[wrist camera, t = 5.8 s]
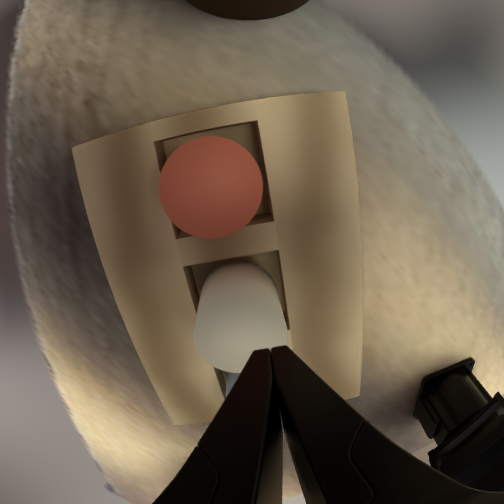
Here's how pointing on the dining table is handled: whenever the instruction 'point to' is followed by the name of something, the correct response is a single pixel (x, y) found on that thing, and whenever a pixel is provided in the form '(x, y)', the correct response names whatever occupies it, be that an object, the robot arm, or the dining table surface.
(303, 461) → the robot arm
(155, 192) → the light wood flat tray
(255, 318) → the white rounded piece
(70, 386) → the dining table surface
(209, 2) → the olive oil
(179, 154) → the red button
